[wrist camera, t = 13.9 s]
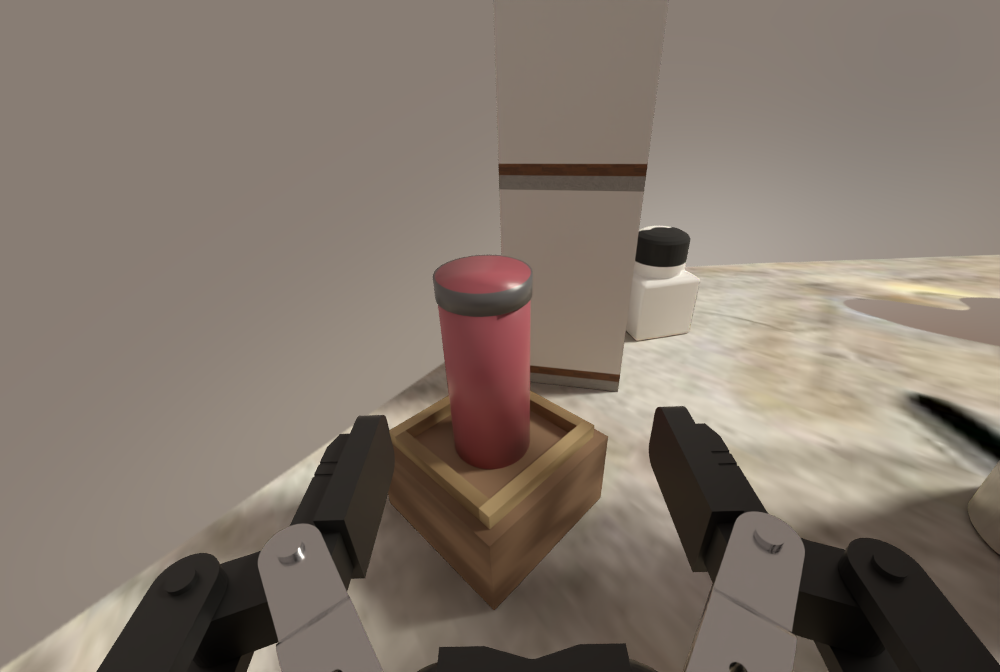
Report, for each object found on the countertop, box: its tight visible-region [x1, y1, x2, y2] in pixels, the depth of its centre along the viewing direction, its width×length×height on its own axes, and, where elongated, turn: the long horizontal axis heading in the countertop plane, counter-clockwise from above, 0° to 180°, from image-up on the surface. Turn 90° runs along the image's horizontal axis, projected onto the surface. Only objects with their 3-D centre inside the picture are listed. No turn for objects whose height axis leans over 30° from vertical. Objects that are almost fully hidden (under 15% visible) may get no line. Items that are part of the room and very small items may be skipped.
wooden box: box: [388, 391, 608, 610], centre depth 30 cm, size 11×11×7 cm
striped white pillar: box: [493, 0, 669, 392], centre depth 40 cm, size 11×11×35 cm
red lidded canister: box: [433, 255, 533, 469], centre depth 26 cm, size 5×5×12 cm
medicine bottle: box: [626, 226, 700, 341], centre depth 51 cm, size 7×7×12 cm
